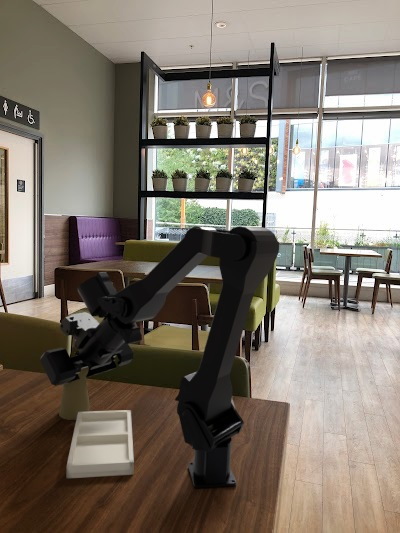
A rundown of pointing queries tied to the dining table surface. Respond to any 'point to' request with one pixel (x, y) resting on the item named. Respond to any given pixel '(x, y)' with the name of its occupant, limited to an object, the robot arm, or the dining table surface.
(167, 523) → the dining table surface
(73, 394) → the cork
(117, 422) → the tray
